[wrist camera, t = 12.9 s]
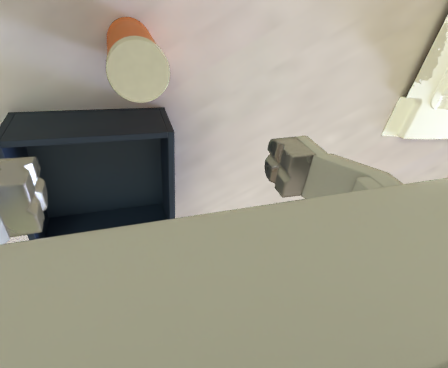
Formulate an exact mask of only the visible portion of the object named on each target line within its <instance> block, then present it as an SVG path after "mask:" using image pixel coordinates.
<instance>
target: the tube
mask: <svg viewBox="0 0 448 368" xmlns="http://www.w3.org/2000/svg"><path fill="white" fill-rule="evenodd" d="M106 73H107V78H108V81H109V83H110V85H111V86H112V88H113V89H114V90H115V92H116V93H118V94H119V95H120V96H121V97H123V98H125V99H126V100H129V101H132V102H137V103H143V102H149V101H152V100H154V99H156V98H158V97H159V96H160V95H161V94H162V93H163V92H164V91H165V89H166V88H167V86H168V83H169V80H170V67H169V63H168V60H167V58H166V56H165V55H164V53H163V52H162V50H161V49H160V48H159V46H158V45H156V43H155V42H154V40H153V38H152V37H151V35H150V33H149V32H148V30H147V29H146V27H145V26H144V25H143V24H142V23H141V22H140V21H138V20H136V19H134V18H131V17H122V18H119V19H117V20H115V21H114V22H113V23H112V24H111V25H110V27H109V29H108V32H107V59H106Z"/></svg>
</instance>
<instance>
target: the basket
mask: <svg viewBox="0 0 448 368" xmlns="http://www.w3.org/2000/svg"><path fill="white" fill-rule="evenodd" d="M23 157H36V158H37V159H38V162H39V164H40V167H41V171H40V175H39V177H40V178H42V179H43V180H44V181H45V183H46V187H47V192H48V206H47V209H46V210H45V211H43V213H44V216H45V220H44V225H43V229H42V232H40V233H34V234H28V238H29V240H34V239H41V238H48V237H54V236H61V235H68V234H74V233H81V232H88V231H94V230H101V229H108V228H115V227H121V226H128V225H135V224H141V223H148V222H155V221H161V220H168V219H175V166H174V130H173V128H172V126H171V123H170V121H169V118H168V116H167V113H166V111H165V108H138V109H106V110H75V111H43V112H11V113H8V115H7V116H6V118H5V119H4V121H3V122H2V124H1V126H0V159H6V158H23Z"/></svg>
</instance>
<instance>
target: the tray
mask: <svg viewBox="0 0 448 368" xmlns="http://www.w3.org/2000/svg"><path fill="white" fill-rule="evenodd" d="M382 136H398V137H400V138H402V139H448V15H447V17H446V19H445V21H444V23H443V25H442V27H441V29H440V31H439V33H438V35H437V37H436V39H435V41H434V43H433V45H432V47H431V49H430V51H429V53H428V55H427V57H426V59H425V61H424V63H423V65H422V67H421V69H420V71H419V73H418V75H417V77H416V79H415V81H414V83H413V85H412V87H411V89H410V91H409V93H408V95H407V97H400V98H399V100H398V102H397V104H396V106H395V108H394V110H393V112H392V114H391V117H390V119H389V121H388V123H387V125H386V127H385V129H384V131H383V133H382Z"/></svg>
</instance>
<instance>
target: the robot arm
mask: <svg viewBox="0 0 448 368" xmlns="http://www.w3.org/2000/svg"><path fill="white" fill-rule="evenodd" d="M268 151H269V153H270V155H269V156H268V157H267V158H266V160H265V173H266V176H267V178H268V179H269V181H271V182H273V183H275V189H276V190H277V191H278V192H279V194H280V195H281V196H282V198H283V197H291V196H300V195H302V197H304V198H305V199H302V200H295V201H288V202H282V203H275V204H268V205H261V206H255V207H248V208H241V209H235V210H228V211H221V212H215V213H208V214H201V215H195V216H188V217H181V218H175V219H168V220H161V221H155V222H148V223H141V224H135V225H128V226H121V227H115V228H108V229H101V230H94V231H88V232H81V233H74V234H68V235H61V236H54V237H48V238H41V239H34V240H28V241H21V242H14V243H8V244H5V243H6V242H7V241H8V240H9V239H10V237H16V236H22V235H28V234H34V233H40V232H42V229H43V225H44V220H45V216H44V213H43V211H45V210H46V209H47V206H48V192H47V187H46V183H45V181H44V180H43V179H42V178H40V177H39V175H40V171H41V167H40V164H39V162H38V159H37V158H36V157H23V158H6V159H0V368H448V178H442V179H435V180H429V181H422V182H415V183H409V184H403V183H401V182H400V181H399V180H397V179H396V178H395V177H393V176H392V175H391V174H389V173H387V172H384V171H381V170H378V169H376V168H373V167H370V166H367V165H364V164H361V163H358V162H355V161H352V160H349V159H346V158H343V157H340V156H337V155H334V154H328V153H327V152H326V151H324V150H323V149H322V148H321V147H320V146H318V145H317V144H316V143H315V142H314V141H312V140H311V139H310V138H309V137H308V136H298V137H287V138H277V139H271V140H270V142H269V145H268Z"/></svg>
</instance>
